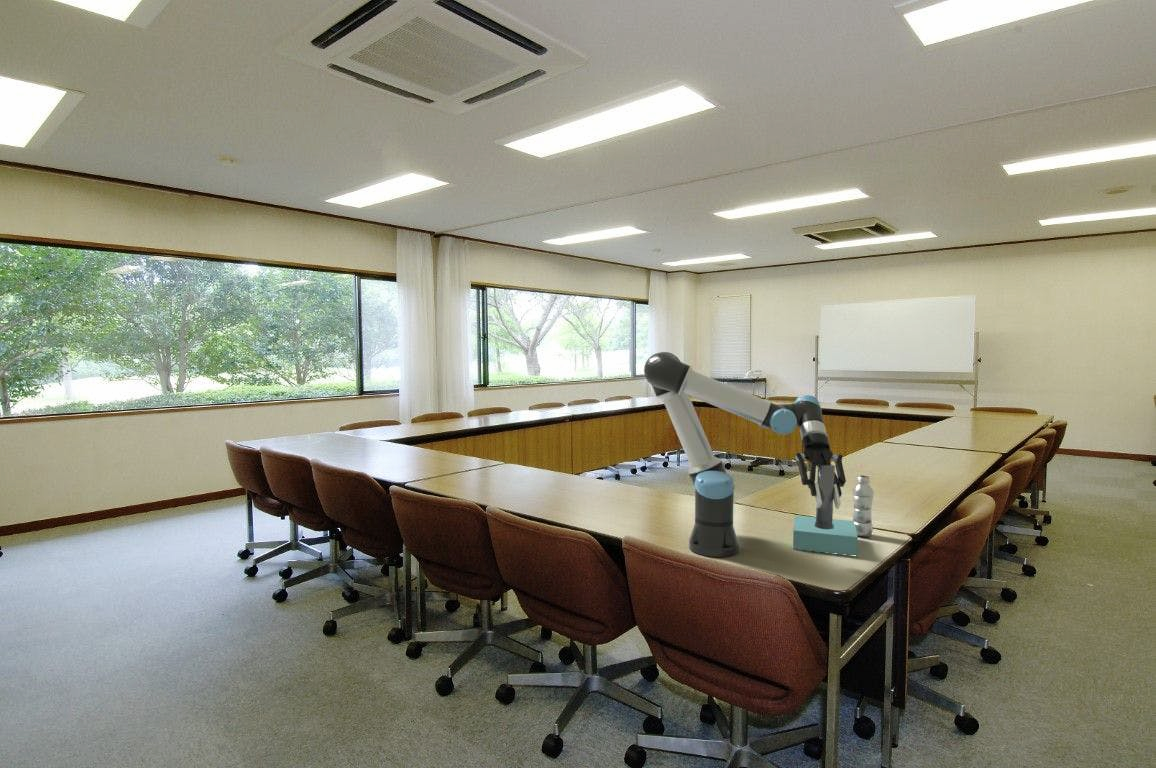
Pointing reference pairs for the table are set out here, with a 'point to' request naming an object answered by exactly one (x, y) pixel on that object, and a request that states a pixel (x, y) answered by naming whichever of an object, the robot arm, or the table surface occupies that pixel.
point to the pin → (825, 496)
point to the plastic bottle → (863, 506)
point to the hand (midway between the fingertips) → (828, 505)
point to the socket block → (825, 536)
